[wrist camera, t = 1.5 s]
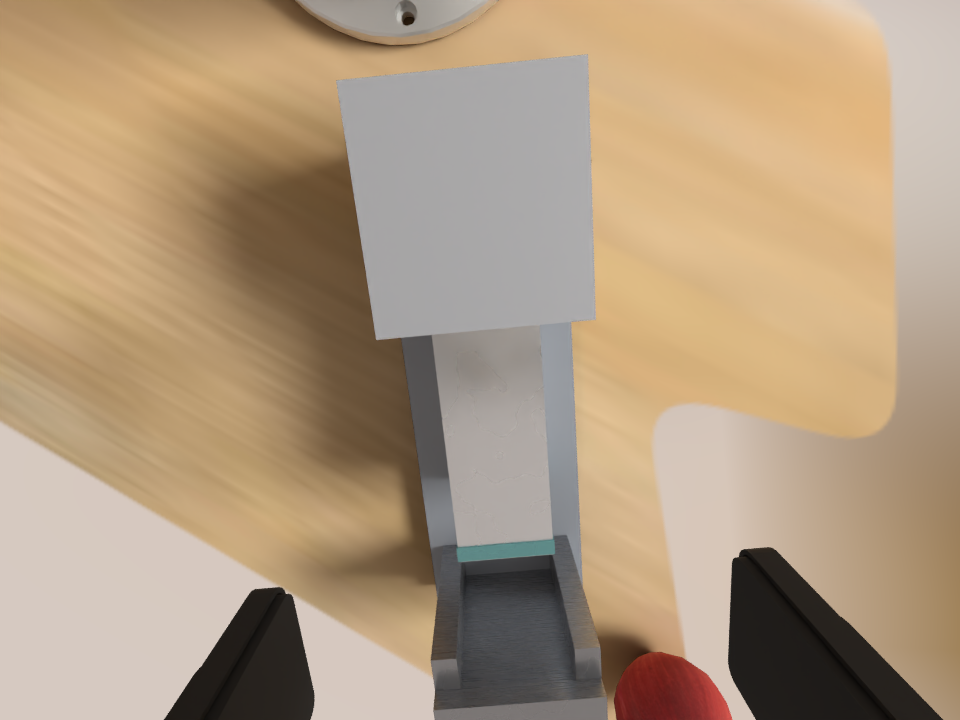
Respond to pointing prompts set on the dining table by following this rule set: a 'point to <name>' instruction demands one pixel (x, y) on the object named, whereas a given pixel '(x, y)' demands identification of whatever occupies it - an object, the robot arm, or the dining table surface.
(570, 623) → the socket
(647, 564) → the dining table surface
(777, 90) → the dining table surface
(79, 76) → the dining table surface
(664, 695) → the onion
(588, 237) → the board
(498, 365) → the grey rectangular block
